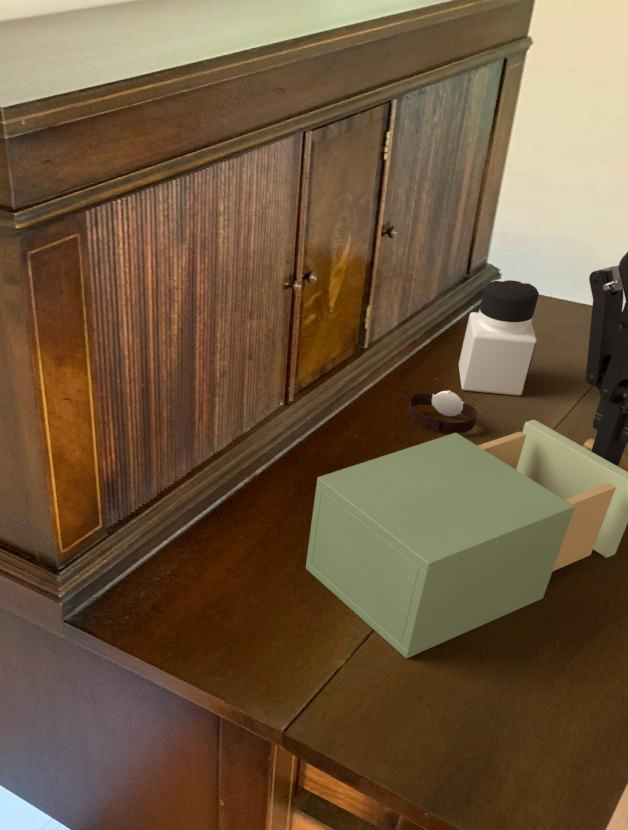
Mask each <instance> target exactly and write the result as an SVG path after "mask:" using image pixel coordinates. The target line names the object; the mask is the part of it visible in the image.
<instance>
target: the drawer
mask: <svg viewBox="0 0 628 830" xmlns="http://www.w3.org/2000/svg"><path fill="white" fill-rule="evenodd" d="M594 441H595V438H589V439H587V440H586V441H585V442H584V443H583V445H580V444H579V443H577V442H575V441H573V440H571V439H570V438H568V437H566V436H564V435H562V434H561V433H559V432H557V431H555V430H554V429H552V428H550V427H548V426H547V425H545V424H543V423H541V422H539V421H537V420H536V419H530V420H528V421H525V422H524V425H523V429H522V431H517V432H515V433H511V434H508V435H505V436H502V437H499V438H496V439H493V440H490V441H487V442H484V443H481V444H478V445H477V446H478V447H480V448H482V449H483V450H485V451H487V452H488V453H490V454H491V455H493V456H495V457H496V458H498V459H499V460H501V461H503V462H504V463H506V464H508V465H509V466H511V467H512V468H514V469H516V470H517V471H519V472H520V473H522V474H524V475H525V476H527V477H529V478H530V479H532V480H533V481H535V482H537V483H538V484H540V485H541V486H543V487H545V488H546V489H548V490H549V491H551V492H553V493H554V494H556V495H558V496H559V497H561V498H562V499H564V500H566V501H567V502H569V503H570V504H572V505H574V506H575V508H574V511H573V514H572V517H571V520H570V523H569V525H568V528H567V531H566V534H565V537H564V540H563V543H562V545H561V548H560V551H559V554H558V557H557V560H556V563H555V565H554V568H553V571H552V572H555V571H556V570H559V569H561V568H564V567H566V566H568V565H571V564H573V563H575V562H578V561H580V560H583V559H585V558H587V557H589V556H591V555H592V552H593V551H595V552H597V553H598V554H600V555H601V556H603V557H604V558H606V559H607V558H609V557H612V556H614V555H616V553H617V552H618V551H617V550H618V549H619V545H620V543H621V540H622V538H623V535H624V534H625V531H626V528H627V525H628V456H625V455H624V454H623V455H622V457H621V460H620V463H619V466H616V465H614V464H612V463H611V462H609V461H607V460H605V459H604V458H602V457H600V456H598V455H596V454H595V453H593V452H591V450H592V447H593V444H594Z"/></svg>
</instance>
